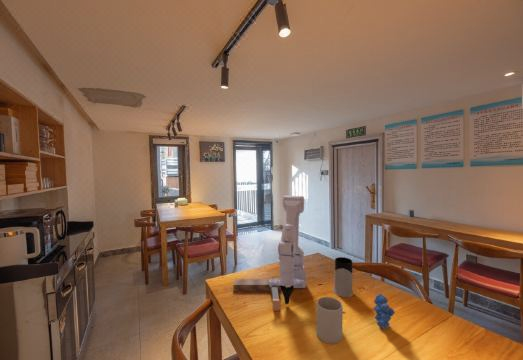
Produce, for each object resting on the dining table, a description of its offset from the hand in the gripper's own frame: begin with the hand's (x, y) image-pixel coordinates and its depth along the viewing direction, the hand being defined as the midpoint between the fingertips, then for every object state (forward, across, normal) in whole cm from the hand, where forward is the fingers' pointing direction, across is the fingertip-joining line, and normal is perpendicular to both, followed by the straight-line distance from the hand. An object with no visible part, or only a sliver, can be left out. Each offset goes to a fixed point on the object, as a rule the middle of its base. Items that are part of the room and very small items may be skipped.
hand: (286, 302), depth 97 cm
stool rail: (+1, -13, +13) cm, 18 cm away
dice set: (+2, +20, -4) cm, 20 cm away
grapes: (+2, +33, -14) cm, 36 cm away
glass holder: (+2, +28, +13) cm, 31 cm away
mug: (+2, +13, -16) cm, 21 cm away
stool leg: (+1, -5, +4) cm, 6 cm away
